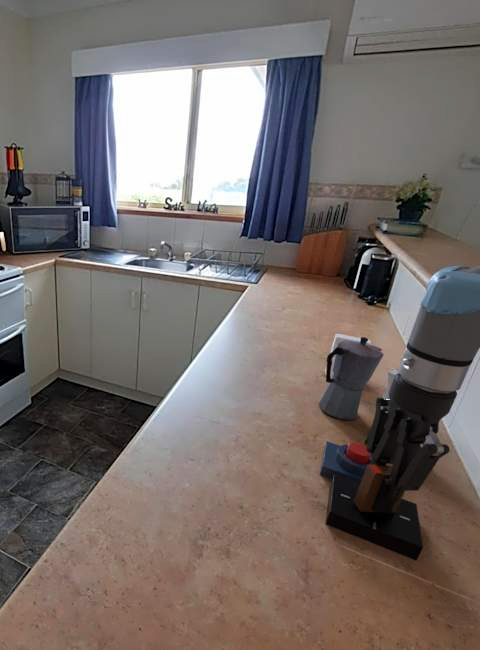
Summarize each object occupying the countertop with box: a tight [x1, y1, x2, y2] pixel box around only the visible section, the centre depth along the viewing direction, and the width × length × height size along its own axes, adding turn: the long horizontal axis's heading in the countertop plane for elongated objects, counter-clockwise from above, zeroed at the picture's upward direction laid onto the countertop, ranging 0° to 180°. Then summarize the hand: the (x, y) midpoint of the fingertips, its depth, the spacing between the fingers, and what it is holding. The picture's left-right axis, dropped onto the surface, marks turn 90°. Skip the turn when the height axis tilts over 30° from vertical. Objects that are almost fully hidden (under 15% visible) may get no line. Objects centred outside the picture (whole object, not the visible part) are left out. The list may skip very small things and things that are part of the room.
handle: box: [354, 465, 406, 513], centre depth 65 cm, size 6×2×8 cm, turn 91°
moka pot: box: [318, 336, 384, 421], centre depth 95 cm, size 10×15×20 cm, turn 112°
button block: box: [319, 440, 372, 484], centre depth 78 cm, size 11×9×4 cm
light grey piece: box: [324, 333, 372, 379], centre depth 114 cm, size 9×9×12 cm
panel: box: [325, 475, 424, 561], centre depth 67 cm, size 13×10×3 cm
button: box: [346, 442, 371, 464], centre depth 77 cm, size 4×4×2 cm
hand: (375, 503), depth 66 cm, fingers closed on handle, 2 cm apart
